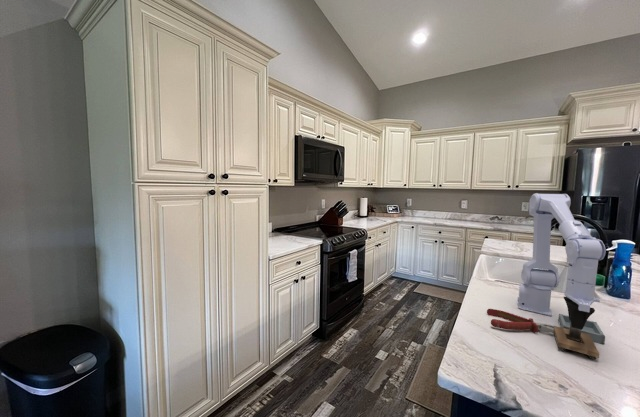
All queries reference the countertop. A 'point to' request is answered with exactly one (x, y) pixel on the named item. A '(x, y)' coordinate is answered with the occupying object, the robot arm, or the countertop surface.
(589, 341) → the brown frame
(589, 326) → the tray
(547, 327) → the pliers
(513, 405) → the countertop surface
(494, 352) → the countertop surface
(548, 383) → the countertop surface
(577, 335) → the stop pin
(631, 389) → the countertop surface
